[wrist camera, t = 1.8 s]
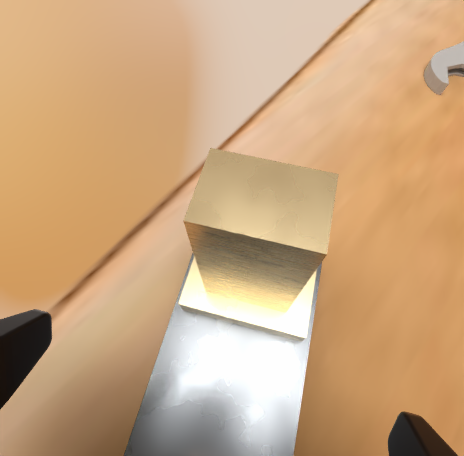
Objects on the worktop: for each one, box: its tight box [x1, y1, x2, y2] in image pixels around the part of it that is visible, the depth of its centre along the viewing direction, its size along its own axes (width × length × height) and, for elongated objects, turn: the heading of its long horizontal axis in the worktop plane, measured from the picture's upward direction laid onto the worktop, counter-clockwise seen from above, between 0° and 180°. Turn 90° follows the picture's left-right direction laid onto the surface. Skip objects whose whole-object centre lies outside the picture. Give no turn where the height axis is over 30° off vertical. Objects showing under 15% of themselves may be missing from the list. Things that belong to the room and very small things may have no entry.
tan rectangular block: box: [178, 148, 338, 342], centre depth 15 cm, size 5×7×10 cm
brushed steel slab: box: [124, 253, 322, 456], centre depth 17 cm, size 16×8×5 cm, turn 165°
